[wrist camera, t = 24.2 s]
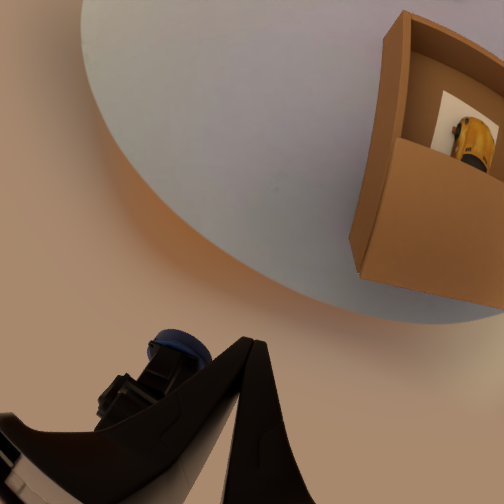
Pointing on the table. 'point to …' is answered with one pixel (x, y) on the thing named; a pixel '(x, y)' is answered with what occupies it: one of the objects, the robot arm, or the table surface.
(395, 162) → the flap
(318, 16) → the table surface
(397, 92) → the carton
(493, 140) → the toy car
